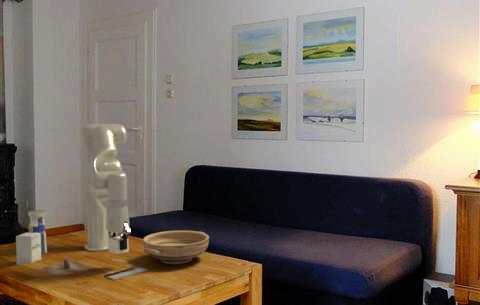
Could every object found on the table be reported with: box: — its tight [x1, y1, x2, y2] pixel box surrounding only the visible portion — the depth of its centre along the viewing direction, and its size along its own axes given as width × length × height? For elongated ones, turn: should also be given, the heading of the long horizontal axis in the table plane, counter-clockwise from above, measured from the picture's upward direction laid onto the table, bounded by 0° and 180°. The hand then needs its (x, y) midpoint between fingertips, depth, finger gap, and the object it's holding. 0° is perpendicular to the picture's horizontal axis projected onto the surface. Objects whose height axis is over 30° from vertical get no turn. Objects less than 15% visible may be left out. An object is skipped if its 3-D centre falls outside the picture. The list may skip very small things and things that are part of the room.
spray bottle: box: [26, 199, 48, 255], centre depth 235 cm, size 8×9×25 cm
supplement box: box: [15, 232, 42, 266], centre depth 218 cm, size 7×7×13 cm
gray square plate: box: [103, 266, 148, 281], centre depth 205 cm, size 16×16×1 cm
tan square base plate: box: [39, 258, 96, 277], centre depth 205 cm, size 16×16×5 cm
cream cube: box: [108, 235, 130, 255], centre depth 204 cm, size 6×6×6 cm
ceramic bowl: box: [142, 230, 210, 265], centre depth 221 cm, size 37×29×10 cm
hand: (118, 247), depth 204 cm, fingers closed on cream cube, 5 cm apart
